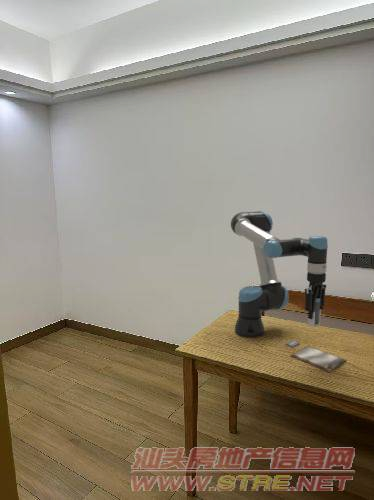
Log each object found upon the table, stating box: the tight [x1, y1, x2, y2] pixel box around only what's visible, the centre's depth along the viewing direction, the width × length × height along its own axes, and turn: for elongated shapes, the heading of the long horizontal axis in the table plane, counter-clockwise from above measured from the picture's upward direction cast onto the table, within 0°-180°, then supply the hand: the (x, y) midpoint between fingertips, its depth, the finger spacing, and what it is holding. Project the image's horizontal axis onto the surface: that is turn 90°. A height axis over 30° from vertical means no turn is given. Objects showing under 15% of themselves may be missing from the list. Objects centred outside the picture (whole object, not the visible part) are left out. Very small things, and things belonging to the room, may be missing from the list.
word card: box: [284, 339, 301, 348], centre depth 158 cm, size 4×6×1 cm, turn 130°
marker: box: [314, 297, 320, 328], centre depth 146 cm, size 4×4×12 cm
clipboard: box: [290, 345, 347, 373], centre depth 144 cm, size 18×14×2 cm
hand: (314, 324), depth 147 cm, fingers closed on marker, 4 cm apart
